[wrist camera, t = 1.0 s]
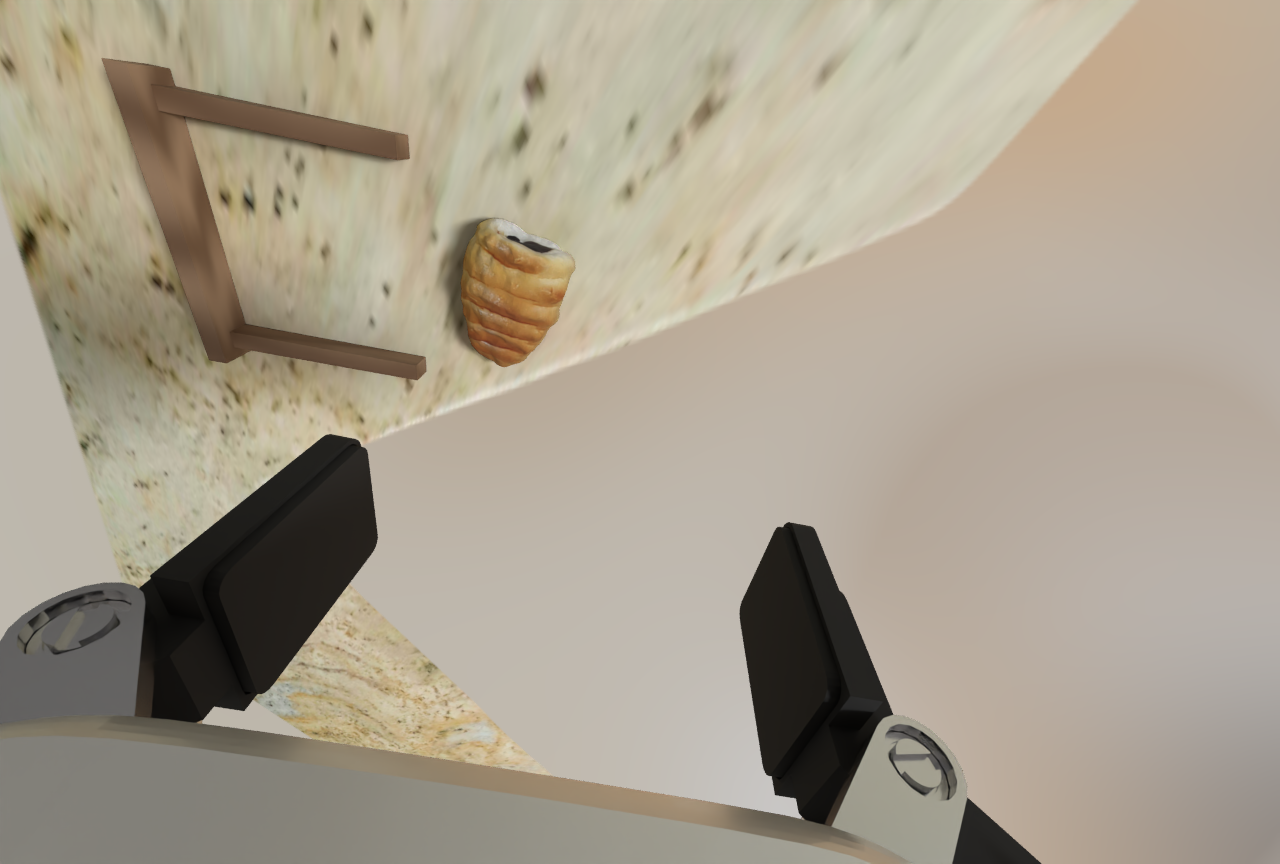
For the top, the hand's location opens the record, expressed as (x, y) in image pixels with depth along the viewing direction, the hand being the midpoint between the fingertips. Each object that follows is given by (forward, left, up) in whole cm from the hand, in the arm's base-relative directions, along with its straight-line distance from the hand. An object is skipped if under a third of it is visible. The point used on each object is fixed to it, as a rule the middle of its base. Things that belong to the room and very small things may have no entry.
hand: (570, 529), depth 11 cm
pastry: (+3, -7, -24) cm, 25 cm away
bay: (+3, -21, -24) cm, 32 cm away
